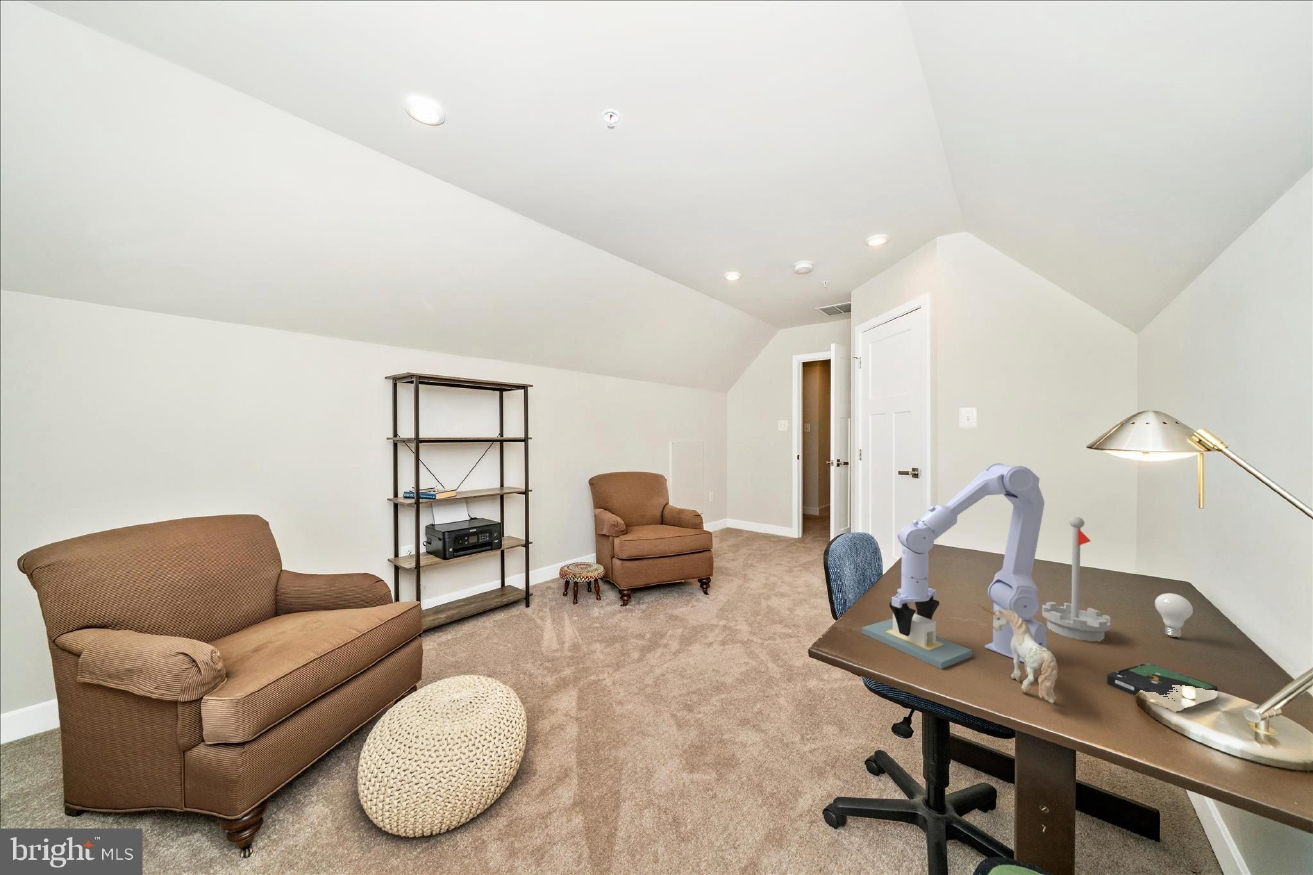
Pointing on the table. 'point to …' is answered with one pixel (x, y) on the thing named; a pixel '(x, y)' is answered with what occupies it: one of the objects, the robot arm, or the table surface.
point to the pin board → (919, 646)
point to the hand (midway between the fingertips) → (914, 631)
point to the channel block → (919, 630)
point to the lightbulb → (1173, 612)
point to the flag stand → (1076, 601)
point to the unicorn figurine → (1028, 654)
